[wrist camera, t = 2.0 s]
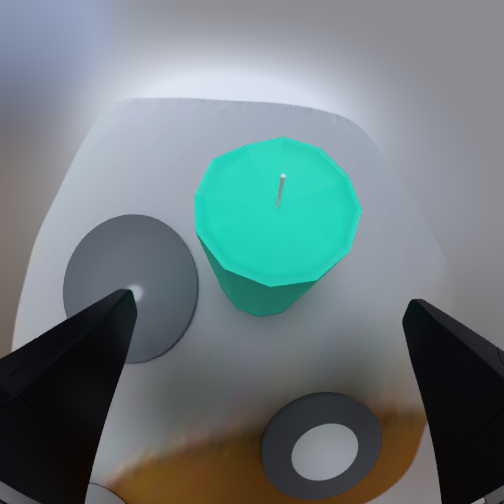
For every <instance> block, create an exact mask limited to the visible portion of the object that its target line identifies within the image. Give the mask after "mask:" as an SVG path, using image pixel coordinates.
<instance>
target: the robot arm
mask: <svg viewBox="0 0 504 504" xmlns="http://www.w3.org/2000/svg"><path fill="white" fill-rule="evenodd" d="M137 315H138V311H137V306H136V302H135V298H134V294H133V291H132V290H130V289H122V288H120V289H118V290H116V291H114V292H113V293H111V294H109V295H107V296H106V297H104V298H102V299H100V300H99V301H97V302H95V303H94V304H92V305H90V306H88V307H87V308H85V309H83V310H82V311H80V312H78V313H77V314H75V315H73V316H72V317H70V318H68V319H67V320H65V321H63V322H62V323H60V324H58V325H57V326H55V327H53V328H52V329H50V330H48V331H47V332H45V333H43V334H42V335H40V336H39V337H38V338H35V339H34V340H32V341H30V342H29V343H27V344H26V345H24V346H22V347H21V348H19V349H17V350H16V351H14V352H12V353H10V354H8V355H6V356H5V357H3V358H1V359H0V504H85V499H86V494H87V490H88V485H89V481H90V477H91V472H92V467H93V464H94V460H95V456H96V452H97V448H98V445H99V441H100V438H101V434H102V431H103V427H104V424H105V421H106V417H107V414H108V411H109V408H110V405H111V402H112V398H113V395H114V392H115V389H116V386H117V384H118V381H119V378H120V375H121V372H122V369H123V366H124V364H125V361H126V358H127V355H128V351H129V347H130V343H131V339H132V335H133V331H134V327H135V324H136V320H137ZM402 325H403V329H404V333H405V337H406V342H407V346H408V350H409V355H410V359H411V363H412V367H413V370H414V373H415V376H416V380H417V383H418V386H419V390H420V393H421V397H422V401H423V404H424V408H425V412H426V416H427V420H428V425H429V428H430V433H431V438H432V443H433V447H434V453H435V458H436V464H437V470H438V477H439V485H440V493H441V502H442V504H471V503H473V502H475V501H477V500H479V499H481V498H483V497H484V500H485V503H483V504H504V351H502V350H501V349H499V348H498V347H496V346H495V345H493V344H492V343H490V342H489V341H487V340H486V339H485V338H483V337H482V336H480V335H478V334H477V333H475V332H474V331H472V330H471V329H469V328H468V327H466V326H465V325H463V324H462V323H460V322H458V321H457V320H455V319H454V318H452V317H451V316H449V315H447V314H446V313H444V312H443V311H441V310H439V309H438V308H436V307H434V306H433V305H431V304H430V303H428V302H426V301H425V300H423V299H412V300H411V301H410V302H409V304H408V307H407V309H406V312H405V314H404V317H403V320H402Z"/></svg>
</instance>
